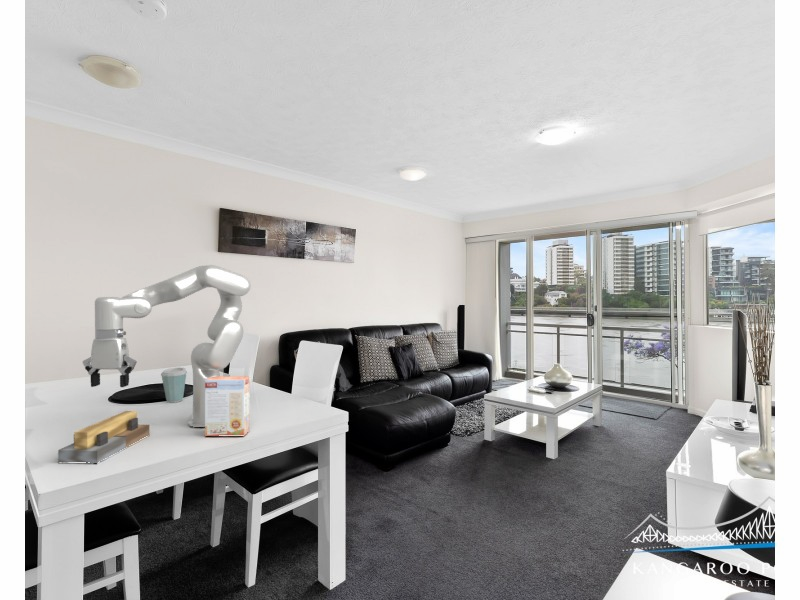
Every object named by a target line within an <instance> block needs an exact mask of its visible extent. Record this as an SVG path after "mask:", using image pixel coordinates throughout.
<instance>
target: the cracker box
mask: <svg viewBox="0 0 800 600" xmlns="http://www.w3.org/2000/svg"><path fill="white" fill-rule="evenodd" d="M248 431H249V432H250V376H220V377H210V378H208V379H206V380H205V428H204V436H219V435H245V434H246V433H247V432H248ZM249 432H248V433H249ZM248 433H247V434H248ZM247 434H246V435H247ZM246 435H245V436H246Z"/></svg>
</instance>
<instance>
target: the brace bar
mask: <svg viewBox="0 0 800 600" xmlns="http://www.w3.org/2000/svg"><path fill="white" fill-rule="evenodd" d="M133 418H138V411H137V410H125V411H122V412H120V413H118V414H115V415H113V416H110V417H108V418H105V419H102V420H100V421H98V422H95V423H94V424H91V425H89V426H87V427H84V428H82V429H79V430H76V431H74V434H73V443H74V449H88V448H91V447H93V446H95V445H97V435H98V434H100V433H102V432H108V439H109V438H111V437H113V436H115V435H117V434H119V433H122V432H124V431H126V430H128V429H129V420H131V419H133Z"/></svg>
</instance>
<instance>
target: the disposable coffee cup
mask: <svg viewBox="0 0 800 600" xmlns="http://www.w3.org/2000/svg"><path fill="white" fill-rule="evenodd" d="M187 373H188V372H187V370H186V368H185V367H172V368H171V367H170V368H167V369H165V370H163V371H162V372H161V374H160V377H161V379H162V385H163V390H164V394H165V395H164V396H165V400H166V401H167V403H168V402H169V403H178V402H182V401H183V399H184V393H185V386H186V379H187Z"/></svg>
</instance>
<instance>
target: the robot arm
mask: <svg viewBox="0 0 800 600" xmlns="http://www.w3.org/2000/svg"><path fill="white" fill-rule="evenodd" d="M251 286H252V285H251V282H250V280H249V278H248V277H246V276H245V275H243V274H241V273H238V272H235V271H232V270H230V269H227V268H223V267H221V266H219V265H213V264H209V265H207V264H206V265H198V266H197V267H194V268H191V269H189V270H186V271H184V272H182V273H180V274H177V275H175V276H172V277H170V278H167V279H164V280H162V281H159V282H156V283H154V284H151V285H149V286H145V287H143V288H141V289H140V288H139V289H138V290H136V291H134V292H131V293H129V294H126V295H123V296H122V297H118V296H101V297H97V298H95V300H94V339H93V340H92V345H91V352H90V357H88V358H86V359H84V360H82V365H83V367H84V369H85V370H86V371H87V374H88V376H89V375H90V387H91V388H93V387H94V388H95V387H98V386H100V385H101V373H100V370H118V372H119V373H120V375H119V386H120V388H125V387H127V386H130V385H129V384H130V374H131V372H133V370H134V369H135V367H136V365H137V363H138V362H137V360H136V359H133V358H132V357H130V353H129V352H130V350H129V346H128V341H127V338H126V337H124V336H127V331H125V330H124V319H143V318H145V317H147V316H149V315H150V314H151V312H152V309H153V307H156V306H157V305H158V306H159V305H163V304H167V303H173V302H176V301H179V300H181V301H182V299H185V298H186V297H189V296H191V295H194V294H195V293H197V292H200V291H202V290H204V289H206V288H214V289H216V290H217V293H218V294H219V297H220V303H219V307H218V309H217V311H216V313H215V315H214V317H213V319H212V320H211V322H210V324H209V325H208V328H207V333H206V335H207V337H208V338H209V339H210V340H212V341H214V342H213V343H212V342H201V343H198V344H197V345H196V346H195V347H194V348H192V351H191V355H190V362H191V367H192V419H190V420H189V421H188V427H190V426H193V427H192V428H194V427H205V380H206V379H208V378H210V377H221V375H220V374H221V373H220V371H221V370H223V369H225V368H227V367H228V366H229V364H230V363H231V362H232V359H233V358H234V357H235V354H236V352H237V349H238V348H239V346H240V345H241V343H242V339H243V337H244V327H243V325H242V323H241V322H240V321H238V320H239V318H240V316H241V314H242V313H241V312H242V310H243V301H242V298H241V297H244V296H246V295H247V294H248V293H249V292H250V290H251Z"/></svg>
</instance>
